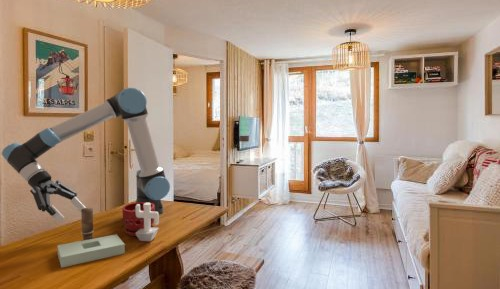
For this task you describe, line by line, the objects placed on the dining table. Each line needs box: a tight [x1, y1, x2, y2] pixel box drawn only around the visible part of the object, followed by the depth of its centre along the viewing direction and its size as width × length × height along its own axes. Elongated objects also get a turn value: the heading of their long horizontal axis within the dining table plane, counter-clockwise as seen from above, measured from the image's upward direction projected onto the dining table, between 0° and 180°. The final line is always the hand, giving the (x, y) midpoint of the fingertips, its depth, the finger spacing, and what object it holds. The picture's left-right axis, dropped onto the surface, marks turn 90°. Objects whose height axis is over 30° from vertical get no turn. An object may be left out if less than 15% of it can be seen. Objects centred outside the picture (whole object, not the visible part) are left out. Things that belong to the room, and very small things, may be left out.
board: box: [57, 233, 126, 268], centre depth 113 cm, size 20×12×4 cm, turn 126°
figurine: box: [135, 202, 160, 242], centre depth 128 cm, size 7×9×15 cm
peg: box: [80, 207, 94, 241], centre depth 125 cm, size 4×4×13 cm
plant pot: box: [121, 202, 155, 237], centre depth 135 cm, size 13×13×12 cm
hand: (73, 214), depth 125 cm, fingers open, 13 cm apart
